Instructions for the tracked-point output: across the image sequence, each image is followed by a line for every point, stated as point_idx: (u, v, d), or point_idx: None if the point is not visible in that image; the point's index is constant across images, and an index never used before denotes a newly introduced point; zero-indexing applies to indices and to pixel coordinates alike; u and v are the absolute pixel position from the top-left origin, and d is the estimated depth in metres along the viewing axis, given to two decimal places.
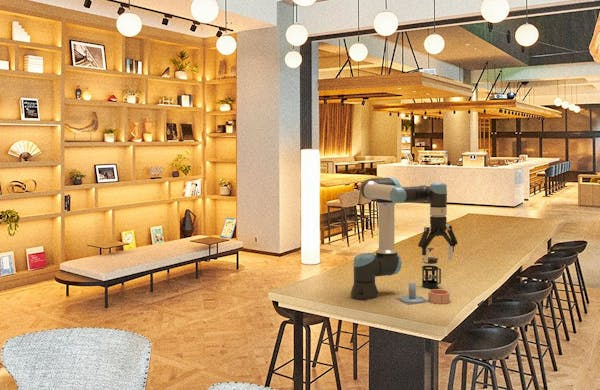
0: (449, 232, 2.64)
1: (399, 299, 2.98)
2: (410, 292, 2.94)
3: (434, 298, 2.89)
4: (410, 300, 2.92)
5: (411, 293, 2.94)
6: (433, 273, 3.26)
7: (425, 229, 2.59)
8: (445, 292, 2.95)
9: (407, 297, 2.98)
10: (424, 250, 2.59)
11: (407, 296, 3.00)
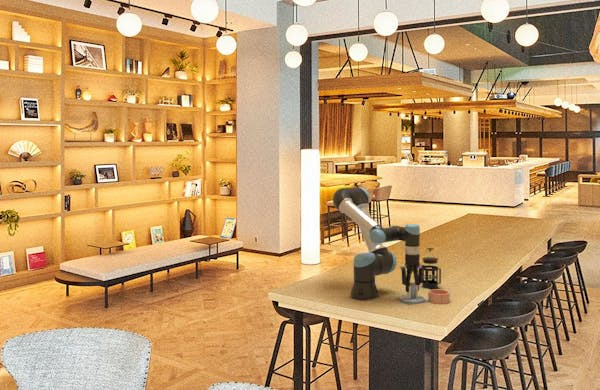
0: (419, 270, 2.96)
1: (399, 299, 2.98)
2: None
3: (434, 298, 2.89)
4: (410, 300, 2.92)
5: (411, 293, 2.94)
6: (433, 273, 3.26)
7: (401, 269, 2.92)
8: (445, 292, 2.95)
9: (407, 297, 2.98)
10: (407, 287, 2.94)
11: None
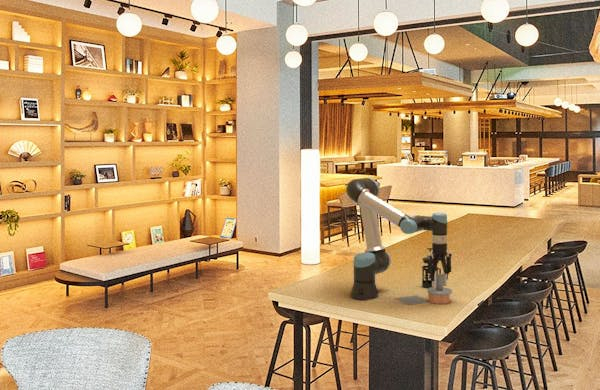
0: (447, 259, 2.94)
1: (399, 299, 2.98)
2: (437, 284, 2.92)
3: (434, 298, 2.89)
4: (438, 292, 2.89)
5: (438, 285, 2.91)
6: None
7: (428, 257, 2.89)
8: None
9: (434, 289, 2.95)
10: (433, 276, 2.90)
11: (434, 288, 2.97)
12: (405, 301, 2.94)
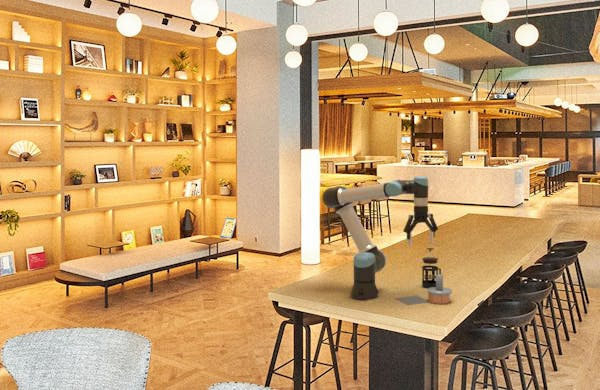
0: (430, 219, 3.03)
1: (399, 299, 2.98)
2: (437, 284, 2.92)
3: (434, 298, 2.89)
4: (438, 292, 2.89)
5: (438, 285, 2.91)
6: (433, 273, 3.26)
7: (409, 217, 2.99)
8: None
9: (434, 289, 2.95)
10: (408, 235, 2.98)
11: (434, 288, 2.97)
12: (405, 301, 2.94)
